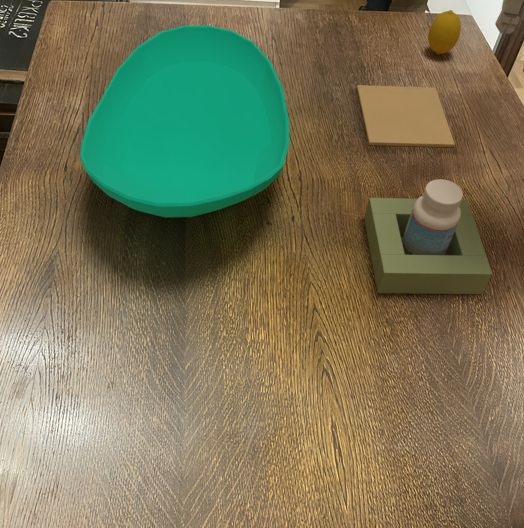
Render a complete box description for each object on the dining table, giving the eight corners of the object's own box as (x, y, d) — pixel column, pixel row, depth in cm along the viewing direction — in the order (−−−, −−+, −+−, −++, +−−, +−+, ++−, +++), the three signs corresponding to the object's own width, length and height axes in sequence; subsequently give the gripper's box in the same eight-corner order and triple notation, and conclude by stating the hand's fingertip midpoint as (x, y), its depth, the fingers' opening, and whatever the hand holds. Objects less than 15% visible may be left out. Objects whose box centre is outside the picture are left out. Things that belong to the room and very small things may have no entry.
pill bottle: (446, 271, 82) (474, 208, 73) (401, 270, 82) (424, 207, 73) (437, 239, 86) (463, 175, 76) (395, 238, 85) (416, 174, 76)
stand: (458, 220, 88) (467, 199, 85) (481, 294, 80) (492, 274, 77) (363, 218, 87) (369, 197, 84) (377, 293, 79) (384, 272, 76)
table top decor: (272, 295, 78) (280, 218, 67) (60, 271, 78) (34, 191, 68) (293, 113, 101) (301, 34, 90) (128, 96, 101) (117, 15, 90)
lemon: (421, 58, 113) (433, 14, 106) (425, 44, 116) (437, 0, 109) (450, 65, 112) (464, 21, 106) (454, 50, 115) (468, 6, 109)
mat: (434, 90, 107) (435, 87, 107) (453, 147, 98) (455, 144, 97) (356, 88, 106) (357, 84, 106) (368, 145, 97) (369, 142, 97)
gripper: (682, -35, 49) (577, 114, 60) (585, -129, 61) (512, 11, 72) (615, -50, 48) (521, 106, 59) (529, -143, 59) (464, 2, 70)
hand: (516, 53), depth 65 cm, fingers open, 8 cm apart
